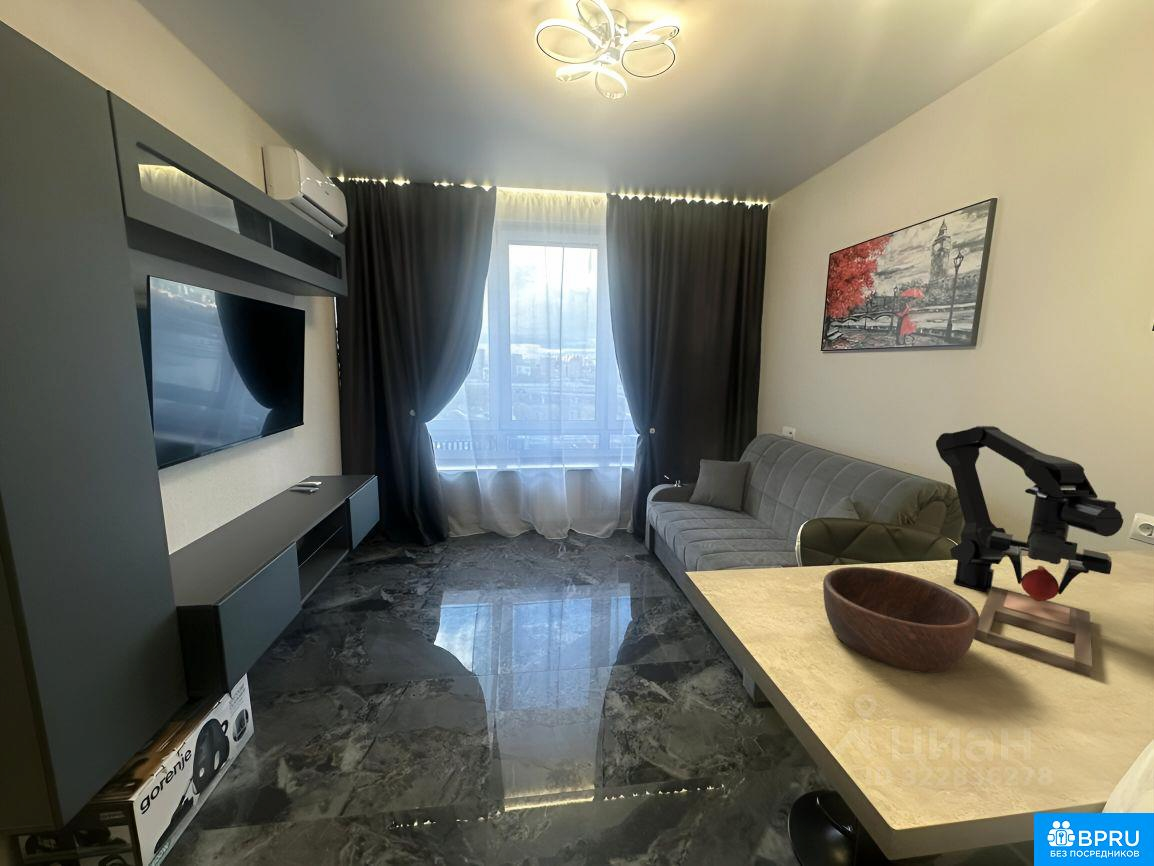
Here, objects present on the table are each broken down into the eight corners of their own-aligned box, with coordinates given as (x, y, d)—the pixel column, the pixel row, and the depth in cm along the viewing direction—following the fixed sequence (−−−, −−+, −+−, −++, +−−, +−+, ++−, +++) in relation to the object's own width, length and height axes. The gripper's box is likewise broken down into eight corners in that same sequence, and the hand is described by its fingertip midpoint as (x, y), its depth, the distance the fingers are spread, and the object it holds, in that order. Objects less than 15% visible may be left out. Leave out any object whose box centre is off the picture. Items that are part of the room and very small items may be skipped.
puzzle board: (973, 638, 94) (974, 627, 94) (990, 593, 113) (992, 584, 113) (1090, 676, 83) (1092, 664, 83) (1088, 620, 102) (1089, 610, 102)
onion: (1046, 597, 104) (1052, 563, 103) (1062, 609, 99) (1069, 573, 98) (1013, 592, 106) (1018, 559, 105) (1027, 604, 101) (1033, 569, 100)
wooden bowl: (841, 598, 110) (845, 556, 109) (980, 643, 93) (987, 594, 91) (800, 640, 93) (804, 591, 91) (961, 706, 75) (970, 646, 74)
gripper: (987, 516, 101) (977, 585, 103) (1119, 541, 88) (1104, 618, 90) (994, 506, 109) (984, 570, 111) (1116, 527, 95) (1102, 599, 97)
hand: (1039, 588), depth 102 cm, fingers closed on onion, 6 cm apart
